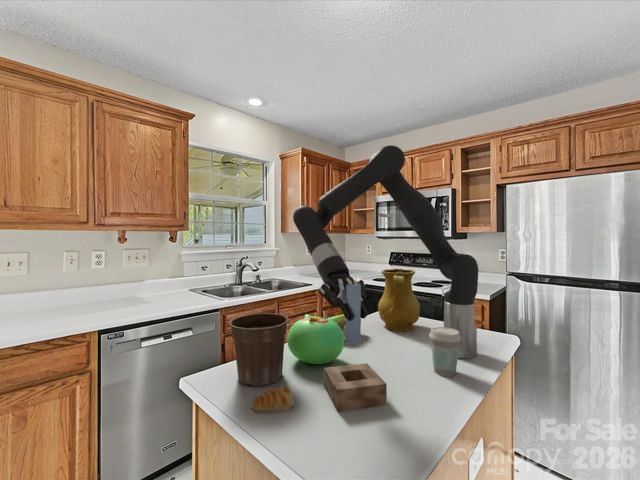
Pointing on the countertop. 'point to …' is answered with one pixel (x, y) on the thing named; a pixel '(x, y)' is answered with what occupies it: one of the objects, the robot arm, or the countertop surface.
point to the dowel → (355, 304)
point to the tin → (343, 327)
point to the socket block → (354, 387)
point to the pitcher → (398, 301)
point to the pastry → (274, 401)
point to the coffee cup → (445, 350)
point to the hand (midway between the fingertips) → (358, 317)
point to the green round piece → (316, 339)
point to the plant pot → (259, 347)
